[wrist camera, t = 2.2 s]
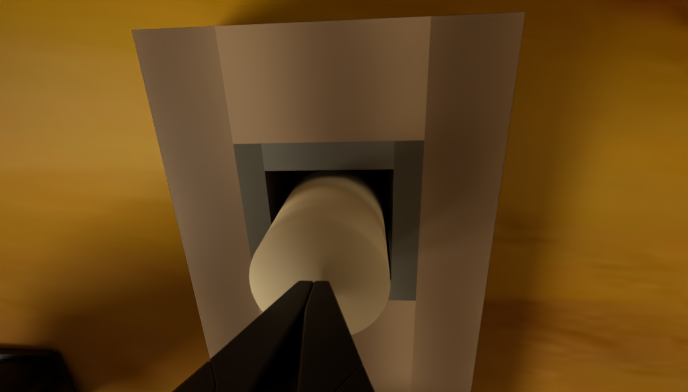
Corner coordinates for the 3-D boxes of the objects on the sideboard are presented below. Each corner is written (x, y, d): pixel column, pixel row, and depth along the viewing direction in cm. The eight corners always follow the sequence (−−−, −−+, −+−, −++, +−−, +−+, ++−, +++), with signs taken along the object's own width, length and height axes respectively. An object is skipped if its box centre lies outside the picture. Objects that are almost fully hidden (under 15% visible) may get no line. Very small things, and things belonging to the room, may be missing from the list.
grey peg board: (269, 428, 25) (246, 513, 20) (203, 40, 15) (131, 29, 11) (435, 435, 24) (451, 525, 19) (474, 28, 14) (525, 11, 10)
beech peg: (291, 255, 15) (258, 338, 10) (282, 168, 13) (239, 220, 9) (382, 255, 15) (389, 341, 10) (383, 166, 13) (391, 220, 9)
